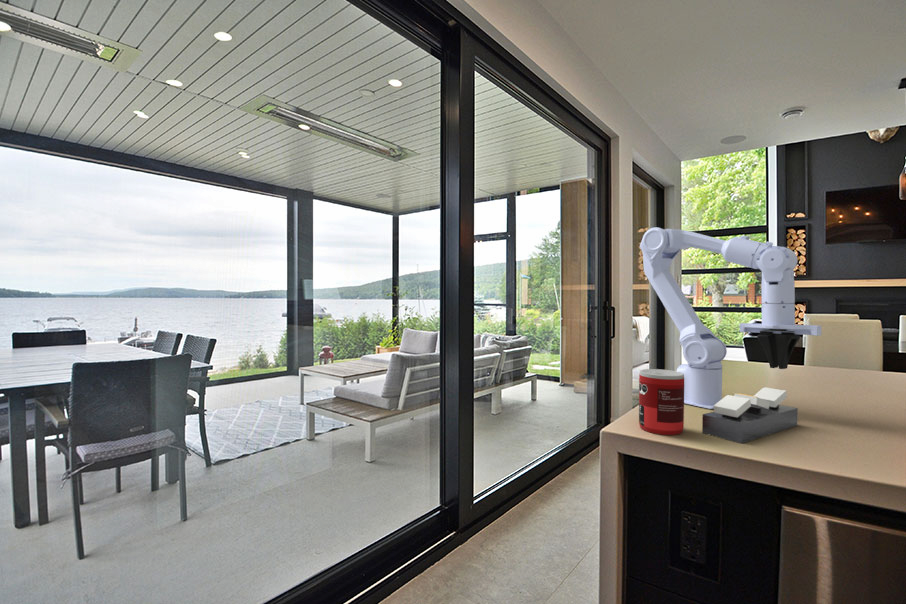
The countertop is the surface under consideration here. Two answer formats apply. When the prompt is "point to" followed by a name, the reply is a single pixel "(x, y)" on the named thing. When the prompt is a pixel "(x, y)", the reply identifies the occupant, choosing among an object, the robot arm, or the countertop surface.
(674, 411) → the canned food
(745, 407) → the rocker near
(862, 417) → the countertop surface
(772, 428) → the switch box
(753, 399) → the rocker mid
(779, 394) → the rocker far
